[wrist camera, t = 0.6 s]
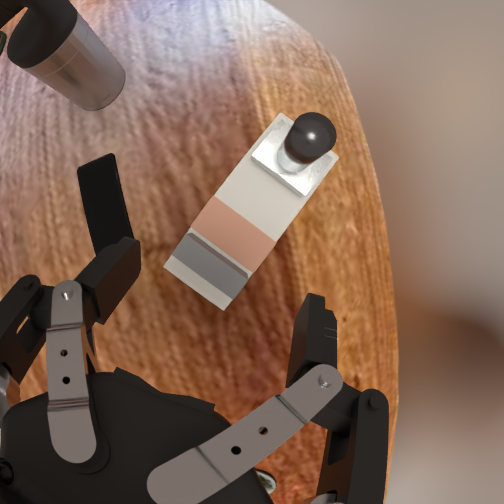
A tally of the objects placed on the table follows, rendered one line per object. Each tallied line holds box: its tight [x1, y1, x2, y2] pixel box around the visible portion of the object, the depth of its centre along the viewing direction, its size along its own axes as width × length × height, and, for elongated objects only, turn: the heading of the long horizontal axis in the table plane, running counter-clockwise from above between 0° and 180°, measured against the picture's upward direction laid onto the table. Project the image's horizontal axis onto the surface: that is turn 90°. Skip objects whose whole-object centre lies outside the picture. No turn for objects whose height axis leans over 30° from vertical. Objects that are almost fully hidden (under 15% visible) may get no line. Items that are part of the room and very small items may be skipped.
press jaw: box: [251, 112, 336, 198], centre depth 29 cm, size 6×8×13 cm
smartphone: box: [77, 153, 134, 256], centre depth 38 cm, size 7×1×15 cm
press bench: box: [163, 112, 339, 311], centre depth 36 cm, size 26×10×6 cm, turn 143°
